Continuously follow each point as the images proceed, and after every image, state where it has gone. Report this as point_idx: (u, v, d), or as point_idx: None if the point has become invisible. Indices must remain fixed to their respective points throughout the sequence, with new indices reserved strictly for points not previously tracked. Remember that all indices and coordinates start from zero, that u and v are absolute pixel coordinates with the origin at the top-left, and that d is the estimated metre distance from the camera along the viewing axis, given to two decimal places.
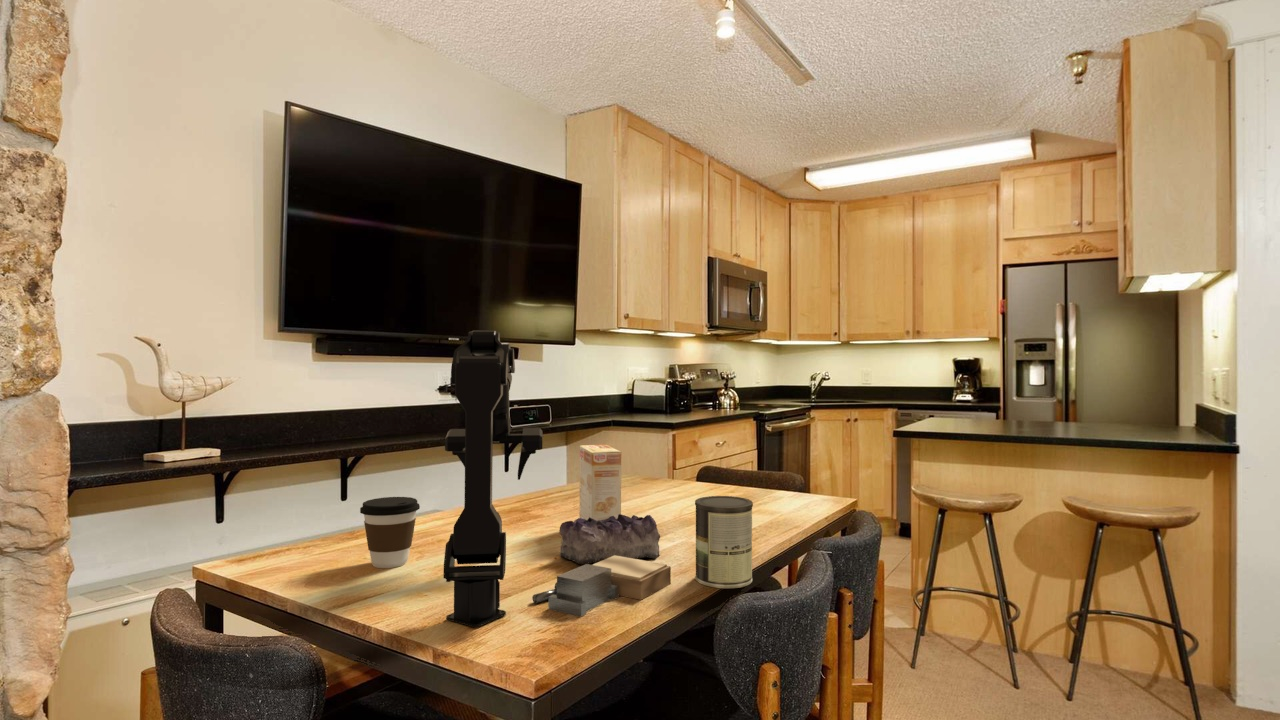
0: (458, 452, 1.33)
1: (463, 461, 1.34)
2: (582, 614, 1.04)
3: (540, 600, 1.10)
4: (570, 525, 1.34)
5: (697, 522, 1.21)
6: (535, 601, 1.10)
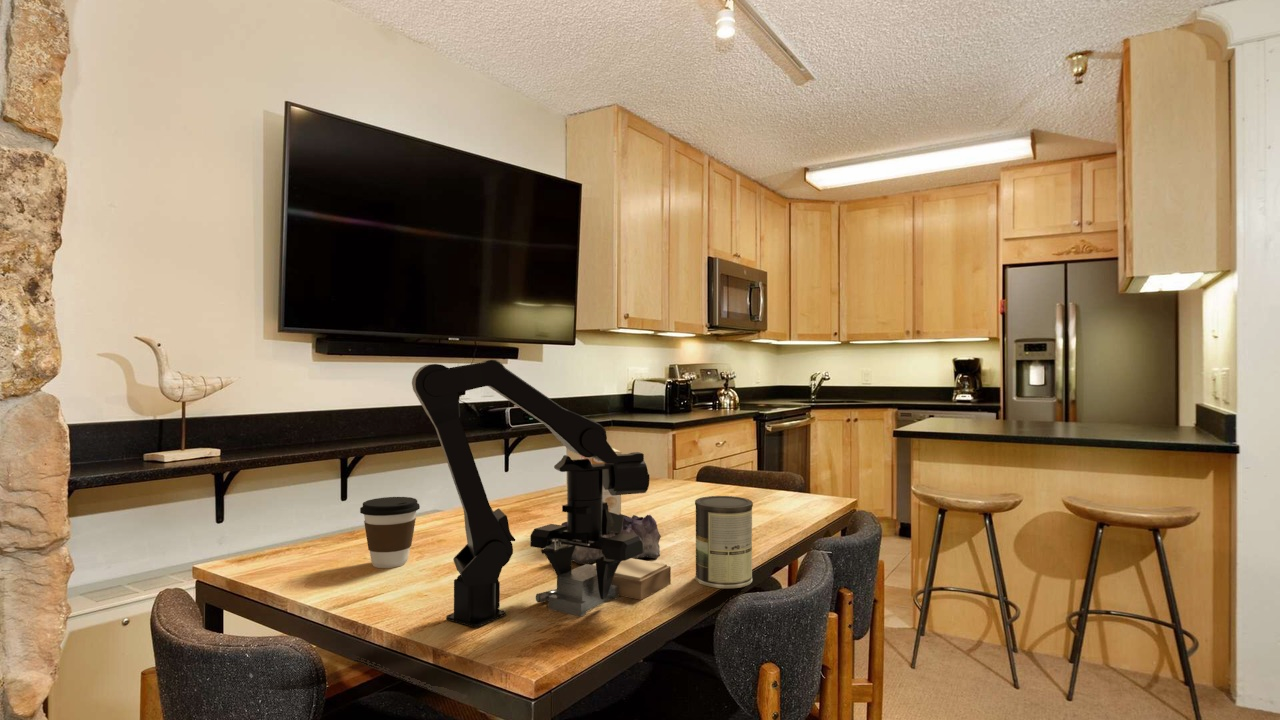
0: (546, 550, 1.11)
1: (552, 563, 1.11)
2: (582, 614, 1.04)
3: (542, 601, 1.10)
4: None
5: (697, 522, 1.21)
6: (537, 600, 1.10)
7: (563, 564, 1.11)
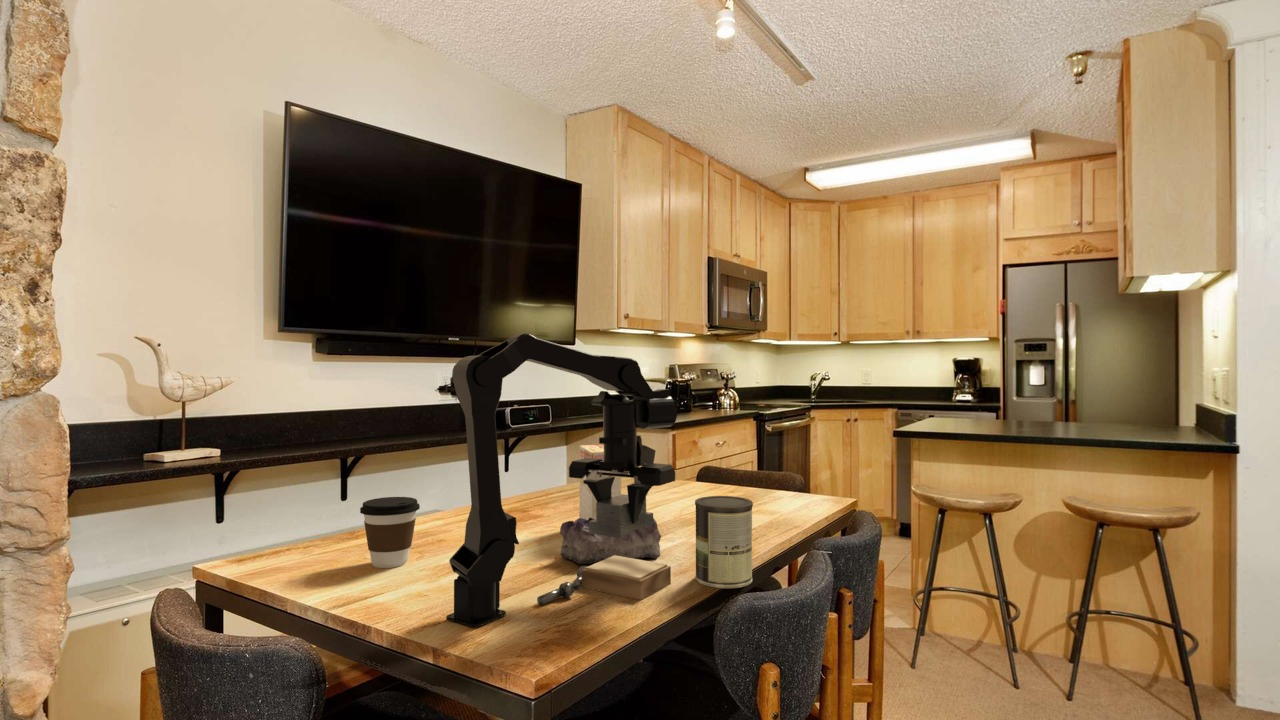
0: (588, 481, 1.18)
1: (594, 492, 1.18)
2: (621, 535, 1.12)
3: (543, 603, 1.10)
4: (571, 525, 1.34)
5: (697, 522, 1.21)
6: (539, 602, 1.09)
7: (604, 494, 1.19)
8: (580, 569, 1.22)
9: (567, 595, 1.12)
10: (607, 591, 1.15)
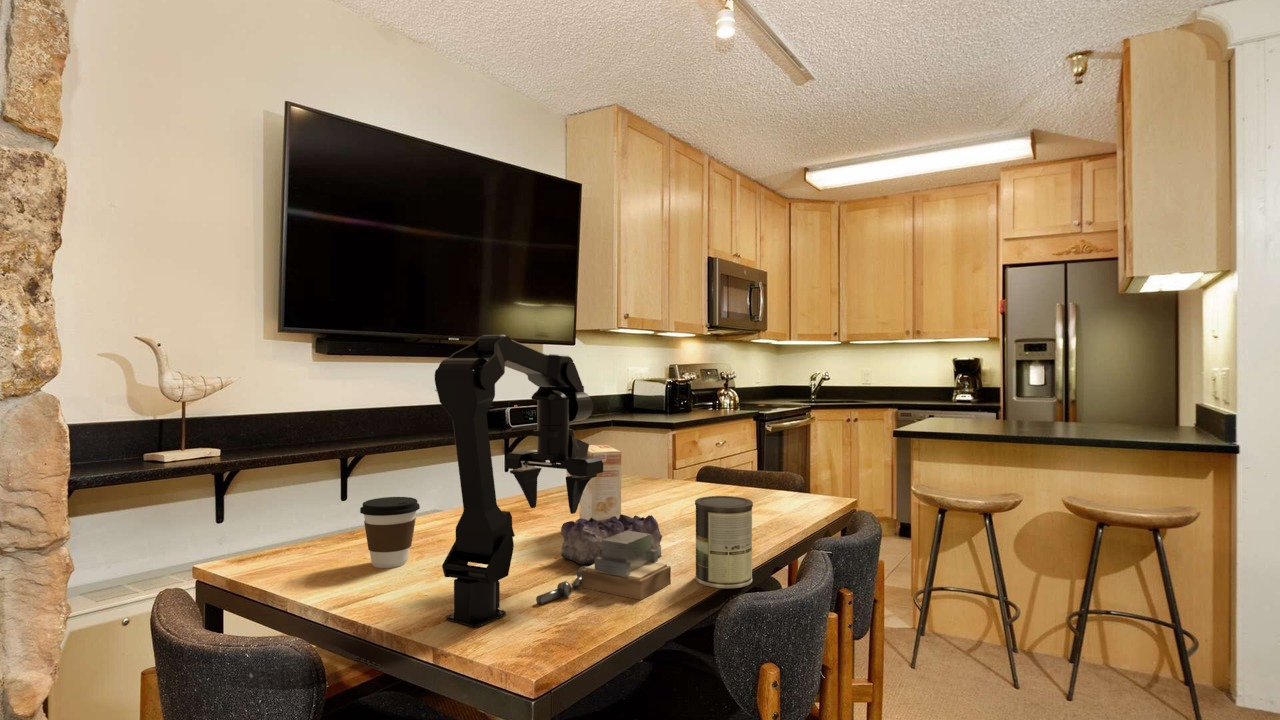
0: (514, 471, 1.26)
1: (519, 482, 1.25)
2: (627, 574, 1.13)
3: None
4: (571, 525, 1.34)
5: (697, 522, 1.21)
6: (538, 602, 1.10)
7: (529, 483, 1.26)
8: (580, 569, 1.22)
9: (566, 592, 1.12)
10: (607, 591, 1.15)
